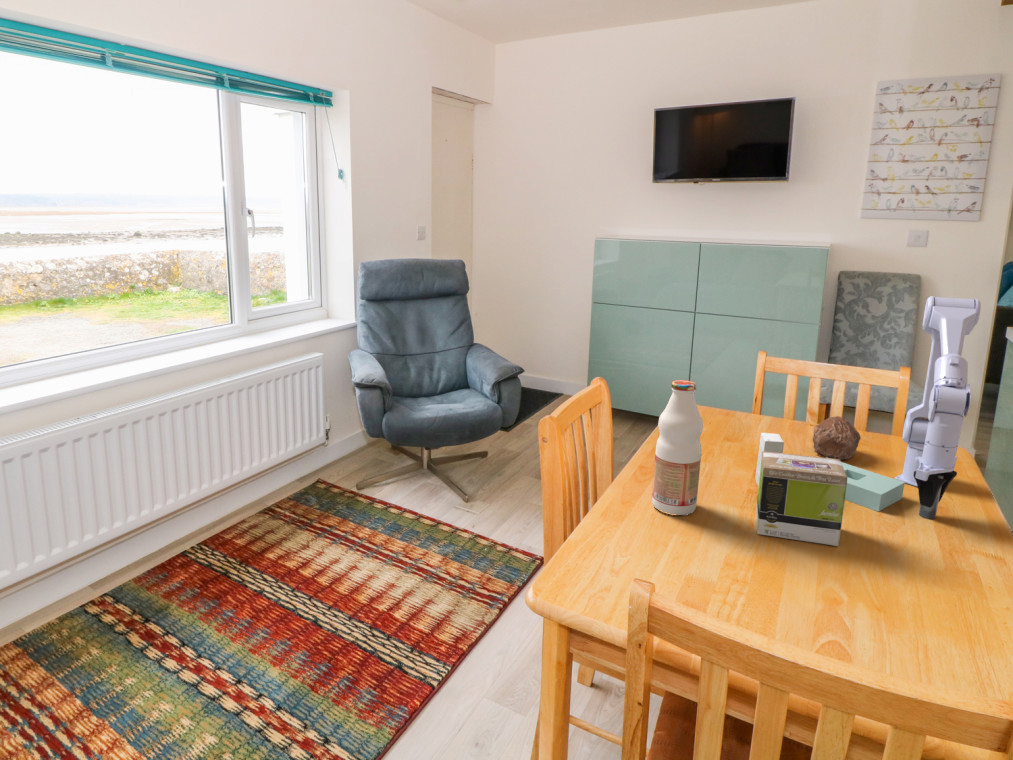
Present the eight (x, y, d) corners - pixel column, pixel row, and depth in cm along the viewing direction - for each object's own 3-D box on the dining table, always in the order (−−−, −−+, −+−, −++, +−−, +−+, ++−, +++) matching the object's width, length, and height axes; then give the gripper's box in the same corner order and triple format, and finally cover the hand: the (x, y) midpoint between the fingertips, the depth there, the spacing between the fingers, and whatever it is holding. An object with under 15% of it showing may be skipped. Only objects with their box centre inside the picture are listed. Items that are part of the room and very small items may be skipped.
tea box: (832, 525, 135) (842, 458, 132) (838, 548, 126) (849, 477, 122) (754, 513, 140) (762, 448, 136) (755, 535, 131) (763, 466, 127)
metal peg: (922, 511, 142) (930, 470, 139) (937, 516, 139) (946, 475, 137) (916, 515, 140) (924, 473, 138) (931, 520, 138) (940, 478, 135)
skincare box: (778, 491, 151) (784, 442, 148) (758, 489, 152) (764, 440, 149) (773, 480, 157) (779, 433, 153) (754, 479, 157) (760, 432, 154)
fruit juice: (657, 517, 138) (667, 389, 130) (646, 497, 147) (655, 376, 140) (701, 517, 138) (714, 389, 131) (688, 497, 147) (699, 376, 140)
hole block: (824, 472, 162) (826, 457, 161) (901, 498, 148) (904, 482, 147) (799, 483, 155) (802, 467, 154) (878, 511, 141) (881, 494, 140)
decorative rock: (815, 443, 182) (820, 408, 179) (860, 452, 175) (866, 416, 173) (804, 457, 171) (809, 421, 169) (852, 467, 165) (858, 430, 162)
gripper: (935, 430, 143) (924, 488, 146) (904, 444, 134) (893, 505, 138) (972, 440, 137) (959, 499, 141) (942, 455, 129) (930, 518, 132)
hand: (929, 503), depth 139 cm, fingers closed on metal peg, 3 cm apart
